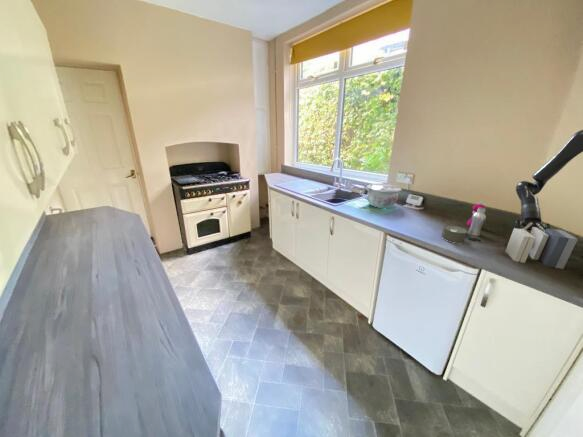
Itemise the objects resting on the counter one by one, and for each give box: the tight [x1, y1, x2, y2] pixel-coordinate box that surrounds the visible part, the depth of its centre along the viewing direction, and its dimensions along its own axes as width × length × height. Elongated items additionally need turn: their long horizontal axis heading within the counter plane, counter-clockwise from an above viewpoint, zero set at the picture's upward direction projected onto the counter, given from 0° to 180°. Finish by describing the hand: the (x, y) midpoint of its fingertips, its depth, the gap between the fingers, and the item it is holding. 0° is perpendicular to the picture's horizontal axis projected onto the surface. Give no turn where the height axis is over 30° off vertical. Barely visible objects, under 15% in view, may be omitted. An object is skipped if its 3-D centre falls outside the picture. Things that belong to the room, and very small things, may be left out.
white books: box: [504, 227, 535, 264], centre depth 121 cm, size 4×11×14 cm, turn 159°
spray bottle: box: [466, 201, 486, 227], centre depth 151 cm, size 7×7×20 cm
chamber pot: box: [360, 182, 402, 209], centre depth 198 cm, size 28×28×21 cm
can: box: [441, 224, 468, 244], centre depth 141 cm, size 12×12×7 cm
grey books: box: [537, 228, 578, 270], centre depth 116 cm, size 6×11×16 cm, turn 158°
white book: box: [528, 227, 549, 261], centre depth 123 cm, size 2×11×14 cm, turn 158°
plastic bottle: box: [466, 207, 487, 242], centre depth 139 cm, size 6×7×20 cm
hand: (533, 240), depth 124 cm, fingers open, 8 cm apart
